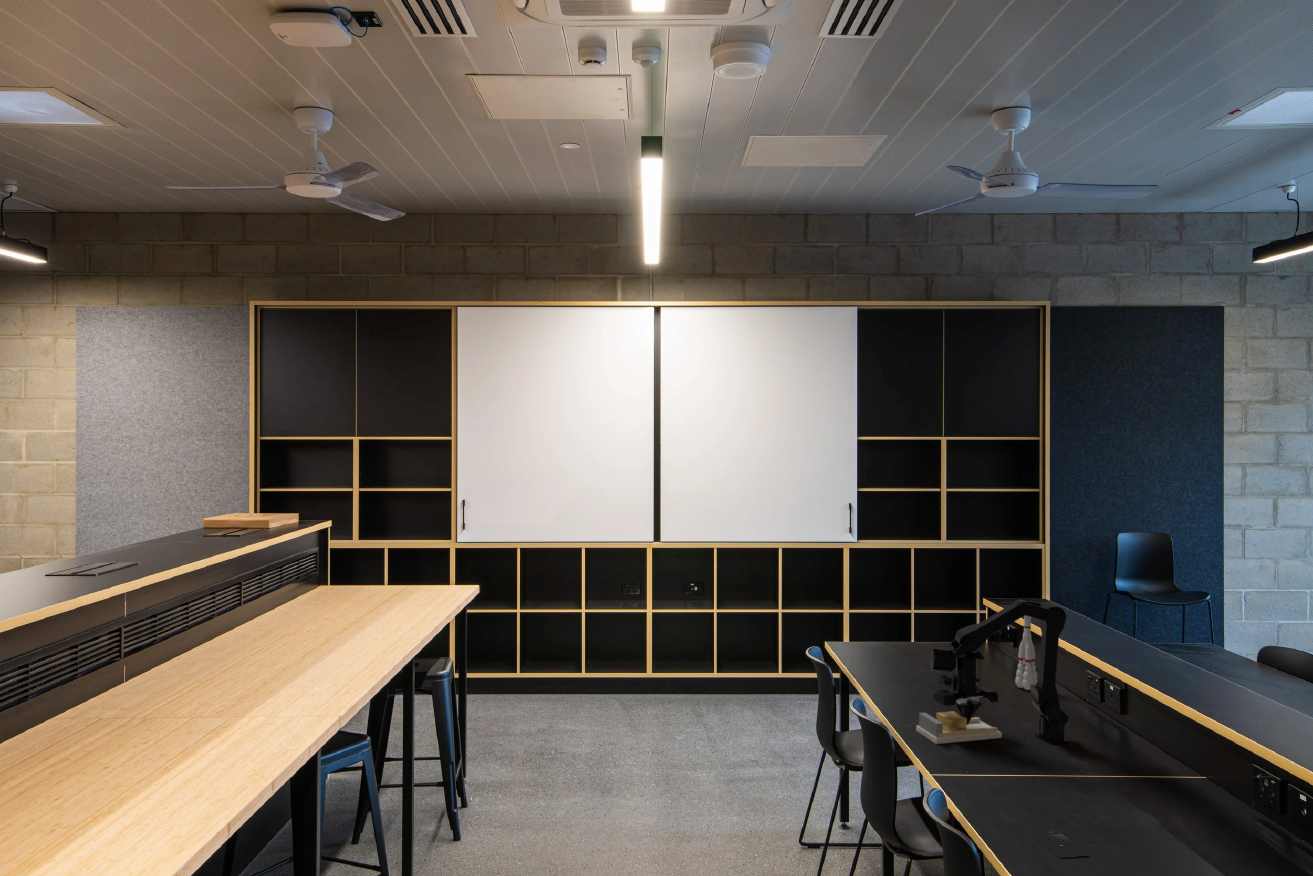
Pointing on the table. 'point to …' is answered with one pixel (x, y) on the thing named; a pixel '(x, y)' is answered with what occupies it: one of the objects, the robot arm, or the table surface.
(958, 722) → the block
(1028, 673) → the rocket model
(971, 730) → the track
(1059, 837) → the solid state drive
